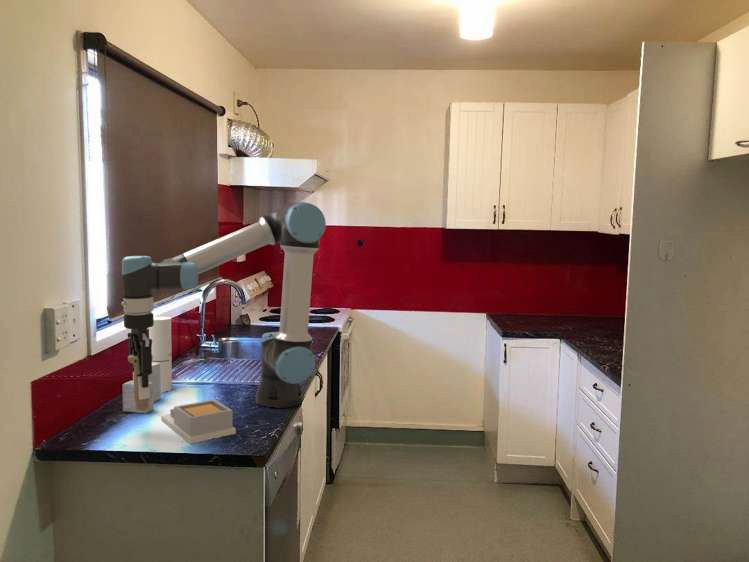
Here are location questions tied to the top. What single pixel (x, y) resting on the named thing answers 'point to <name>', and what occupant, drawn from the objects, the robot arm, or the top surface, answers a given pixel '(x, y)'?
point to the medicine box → (130, 400)
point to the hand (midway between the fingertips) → (141, 396)
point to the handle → (139, 403)
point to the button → (201, 410)
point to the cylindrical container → (162, 349)
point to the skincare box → (156, 381)
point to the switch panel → (200, 422)
